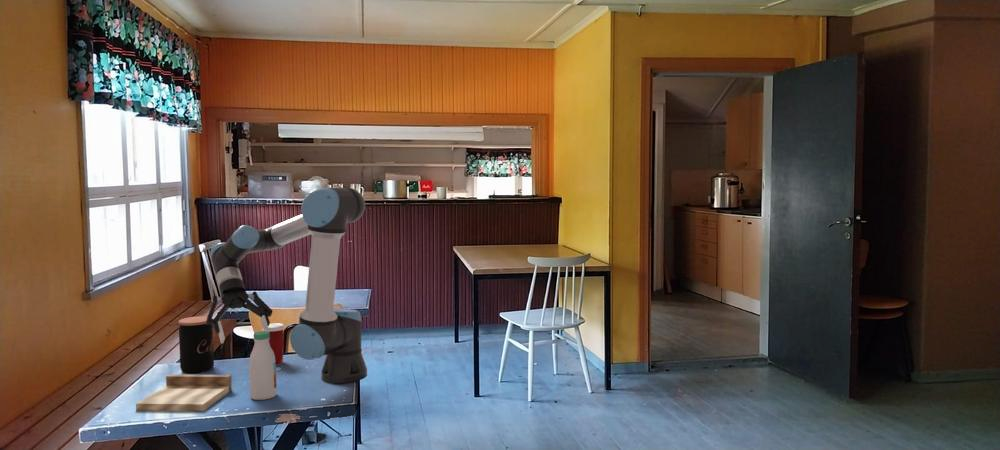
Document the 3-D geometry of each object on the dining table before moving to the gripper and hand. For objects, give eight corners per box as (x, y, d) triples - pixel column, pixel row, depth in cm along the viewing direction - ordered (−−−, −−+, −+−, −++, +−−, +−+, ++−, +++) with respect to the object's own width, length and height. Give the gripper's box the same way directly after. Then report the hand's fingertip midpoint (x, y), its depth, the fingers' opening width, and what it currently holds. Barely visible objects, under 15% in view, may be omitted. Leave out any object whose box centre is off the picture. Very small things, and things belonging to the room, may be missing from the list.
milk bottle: (271, 400, 194) (269, 335, 193) (245, 400, 194) (243, 335, 193) (280, 392, 202) (278, 329, 200) (256, 392, 202) (254, 329, 201)
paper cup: (290, 361, 235) (289, 324, 234) (274, 367, 229) (273, 328, 227) (274, 359, 239) (273, 322, 238) (258, 364, 232) (257, 326, 231)
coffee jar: (200, 375, 219) (198, 323, 218) (173, 373, 221) (171, 322, 220) (220, 366, 230) (218, 316, 228) (194, 364, 232) (192, 315, 231)
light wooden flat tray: (231, 390, 204) (231, 374, 203) (203, 411, 186) (202, 394, 186) (170, 389, 205) (169, 374, 204) (136, 410, 187) (135, 393, 186)
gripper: (266, 286, 223) (282, 337, 212) (188, 295, 208) (201, 350, 197) (271, 273, 218) (287, 325, 207) (191, 280, 203) (205, 337, 192)
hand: (245, 337), depth 202 cm, fingers open, 13 cm apart
